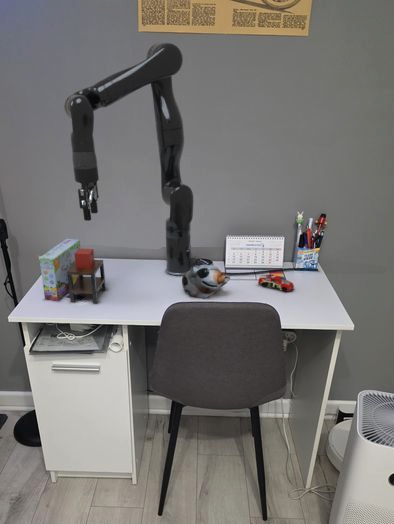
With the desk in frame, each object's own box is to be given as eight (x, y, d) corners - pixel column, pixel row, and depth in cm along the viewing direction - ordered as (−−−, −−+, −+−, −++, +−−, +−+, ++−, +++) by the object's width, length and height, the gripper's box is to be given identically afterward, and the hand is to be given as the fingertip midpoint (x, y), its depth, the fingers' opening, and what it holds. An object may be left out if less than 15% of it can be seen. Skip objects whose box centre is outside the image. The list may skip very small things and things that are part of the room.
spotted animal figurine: (220, 283, 179) (234, 257, 168) (219, 308, 172) (233, 282, 161) (181, 273, 176) (192, 245, 165) (178, 298, 169) (189, 271, 158)
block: (94, 263, 166) (93, 249, 163) (90, 268, 162) (89, 254, 159) (80, 262, 166) (78, 248, 164) (76, 267, 162) (74, 253, 159)
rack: (106, 289, 174) (103, 259, 169) (97, 303, 164) (93, 272, 159) (81, 288, 175) (77, 258, 169) (70, 302, 165) (66, 271, 159)
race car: (295, 288, 177) (297, 278, 175) (289, 293, 173) (291, 283, 171) (262, 280, 183) (263, 270, 181) (256, 285, 179) (257, 275, 177)
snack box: (59, 301, 165) (53, 258, 158) (44, 299, 166) (37, 257, 159) (84, 277, 183) (80, 238, 175) (70, 276, 184) (65, 237, 176)
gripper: (91, 170, 149) (97, 223, 157) (102, 161, 161) (107, 210, 169) (66, 170, 149) (74, 222, 158) (80, 161, 161) (86, 210, 170)
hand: (91, 216), depth 163 cm, fingers open, 8 cm apart
